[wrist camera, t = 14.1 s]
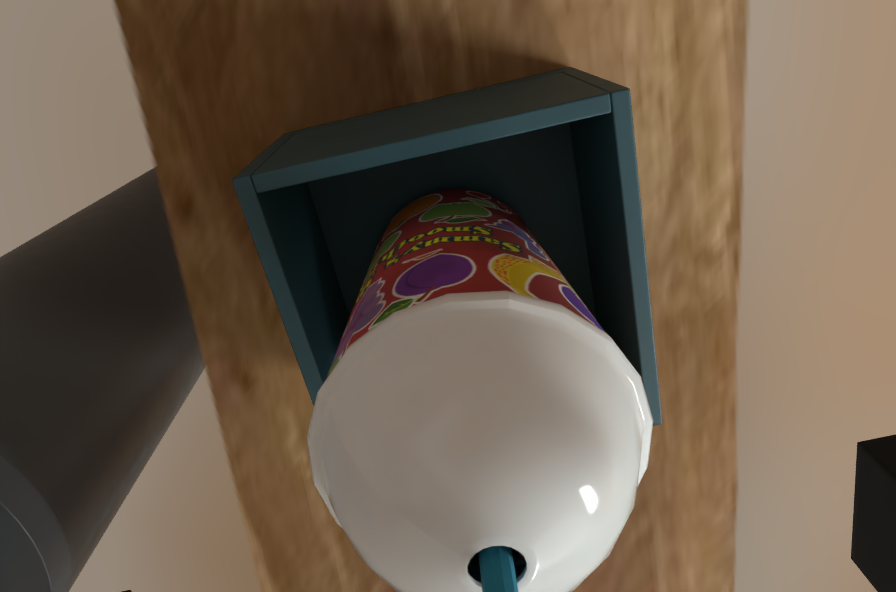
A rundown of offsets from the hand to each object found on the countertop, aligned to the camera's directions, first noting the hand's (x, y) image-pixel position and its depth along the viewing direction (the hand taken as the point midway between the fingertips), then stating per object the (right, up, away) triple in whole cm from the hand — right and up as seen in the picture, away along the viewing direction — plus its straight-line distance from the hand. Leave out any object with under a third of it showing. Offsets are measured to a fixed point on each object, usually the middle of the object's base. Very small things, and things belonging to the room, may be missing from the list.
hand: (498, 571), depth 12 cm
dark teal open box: (-1, +8, +17) cm, 19 cm away
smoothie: (-1, +7, +17) cm, 18 cm away
